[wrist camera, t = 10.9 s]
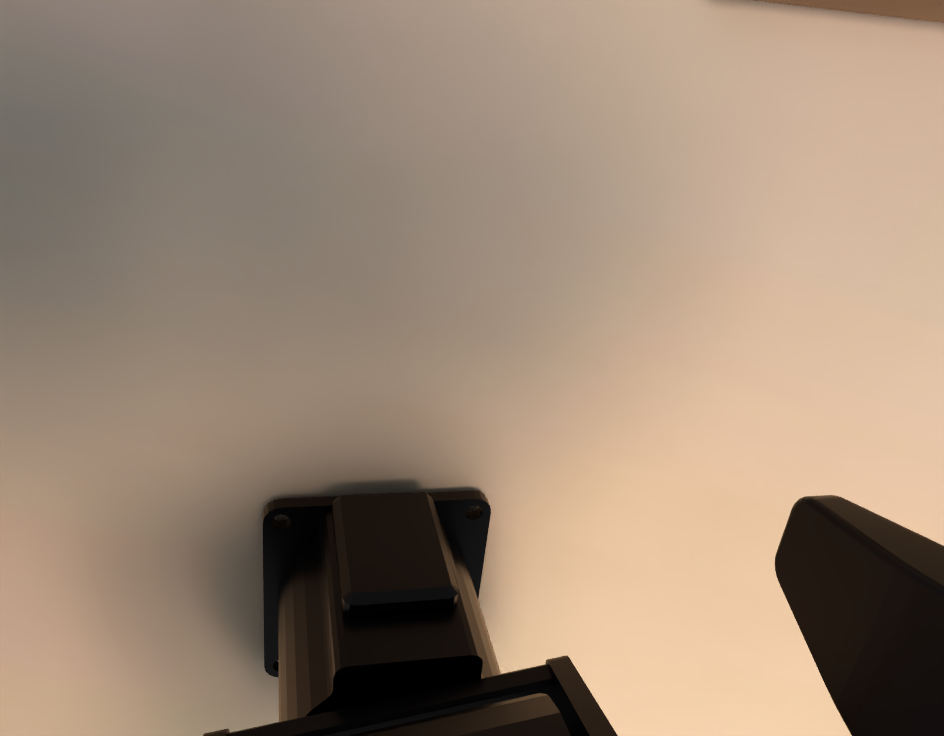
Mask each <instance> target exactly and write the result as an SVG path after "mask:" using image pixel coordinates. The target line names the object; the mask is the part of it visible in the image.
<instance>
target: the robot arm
mask: <svg viewBox="0 0 944 736" xmlns="http://www.w3.org/2000/svg"><path fill="white" fill-rule="evenodd" d="M472 506H479V507H478V508H477V509H476V510H475V511H471V512H470V511H467V509H469V508H470V507H472ZM490 514H491V509H490V505H489V502H488V500H487V498H486V496H485V495H484V494H483V493H481V492H478V491H457V492H433V493H425V492H413V493H389V494H365V495H343V496H337V497H312V498H288V499H278V500H274V501H272V502H270V503H268V505H267V506H266V507H265V508H264V512H263V581H264V665H265V670H266V672H267V673H268V674H269V675H271V676H274V677H279V722H277V723H273V724H268V725H263V726H259V727H254V728H249V729H245V730H240V731H236V732H231V733H230V731H229V729H224V730H219V731H215V732H210V733H205V734H204V735H203V736H617V734H616V732H615V731H614V729H613V727H612V726H611V724H610V723H609V721H608V719H607V718H606V716H605V715H604V713H603V711H602V710H601V708H600V707H599V705H598V703H597V702H596V700H595V699H594V697H593V695H592V694H591V692H590V691H589V689H588V687H587V686H586V684H585V682H584V681H583V679H582V678H581V676H580V674H579V673H578V671H577V670H576V668H575V666H574V665H573V663H572V662H571V660H570V658H569V657H568V656H562V657H558V658H553V659H548V660H546V664H545V665H540V666H536V667H531V668H526V669H522V670H517V671H513V672H508V673H503V674H501V673H500V670H499V666H498V663H497V660H496V657H495V653H494V650H493V647H492V644H491V641H490V637H489V634H488V631H487V628H486V624H485V621H484V618H483V615H482V612H481V608H480V605H479V602H478V597H479V590H480V583H481V576H482V569H483V562H484V555H485V548H486V542H487V535H488V528H489V521H490ZM278 515H286V516H288V518H287V519H286V520H282V521H280V520H276V519H275V517H276V516H278ZM775 571H776V575H777V578H778V581H779V583H780V586H781V588H782V590H783V592H784V594H785V597H786V599H787V601H788V603H789V606H790V608H791V610H792V612H793V614H794V617H795V619H796V621H797V623H798V625H799V628H800V630H801V632H802V634H803V636H804V639H805V641H806V643H807V645H808V647H809V650H810V652H811V654H812V656H813V659H814V661H815V663H816V665H817V667H818V670H819V672H820V674H821V676H822V678H823V681H824V683H825V685H826V687H827V689H828V691H829V693H830V695H831V697H832V700H833V702H834V704H835V706H836V708H837V710H838V711H839V713H840V715H841V717H842V719H843V721H844V722H845V724H846V726H847V728H848V730H849V732H850V733H851V735H852V736H944V546H943V545H941V544H939V543H936V542H934V541H932V540H930V539H928V538H926V537H924V536H922V535H920V534H918V533H915V532H913V531H911V530H909V529H907V528H905V527H903V526H901V525H899V524H897V523H894V522H892V521H890V520H888V519H886V518H884V517H882V516H880V515H878V514H875V513H873V512H871V511H869V510H867V509H865V508H863V507H861V506H859V505H857V504H854V503H852V502H850V501H848V500H846V499H844V498H842V497H839V496H834V495H824V496H806V497H803V498H800V499H799V500H798V501H797V502H796V503H795V504H794V506H793V508H792V510H791V513H790V516H789V518H788V521H787V524H786V527H785V530H784V533H783V535H782V538H781V541H780V544H779V547H778V550H777V553H776V556H775ZM277 660H278V661H277Z"/></svg>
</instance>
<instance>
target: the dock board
mask: <svg viewBox="0 0 944 736" xmlns="http://www.w3.org/2000/svg"><path fill="white" fill-rule="evenodd" d="M756 1H764V2H773V3H781V4H790V5H798V6H807V7H815V8H824V9H833V10H841V11H850V12H858V13H867V14H875V15H884V16H892V17H901V18H909V19H918V20H926V21H935V22H944V0H756Z"/></svg>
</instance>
